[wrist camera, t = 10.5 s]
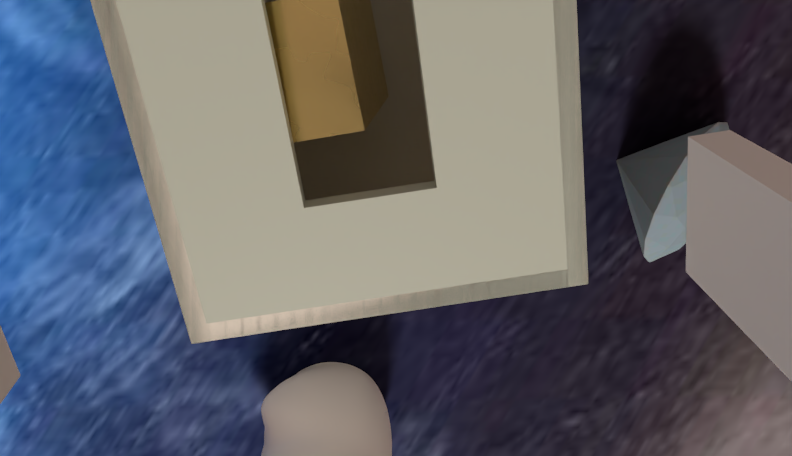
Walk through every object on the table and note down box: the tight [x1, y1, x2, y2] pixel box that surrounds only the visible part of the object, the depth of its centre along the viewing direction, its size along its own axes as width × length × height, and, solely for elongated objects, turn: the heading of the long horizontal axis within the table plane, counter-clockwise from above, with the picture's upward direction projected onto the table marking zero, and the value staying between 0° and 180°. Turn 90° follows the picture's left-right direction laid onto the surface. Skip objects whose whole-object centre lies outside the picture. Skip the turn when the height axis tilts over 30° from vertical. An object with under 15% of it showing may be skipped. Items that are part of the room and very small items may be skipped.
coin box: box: [90, 0, 588, 344], centre depth 30 cm, size 16×18×10 cm
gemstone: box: [616, 122, 729, 262], centre depth 37 cm, size 8×8×5 cm
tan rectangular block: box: [265, 0, 389, 143], centre depth 30 cm, size 3×5×8 cm, turn 11°
